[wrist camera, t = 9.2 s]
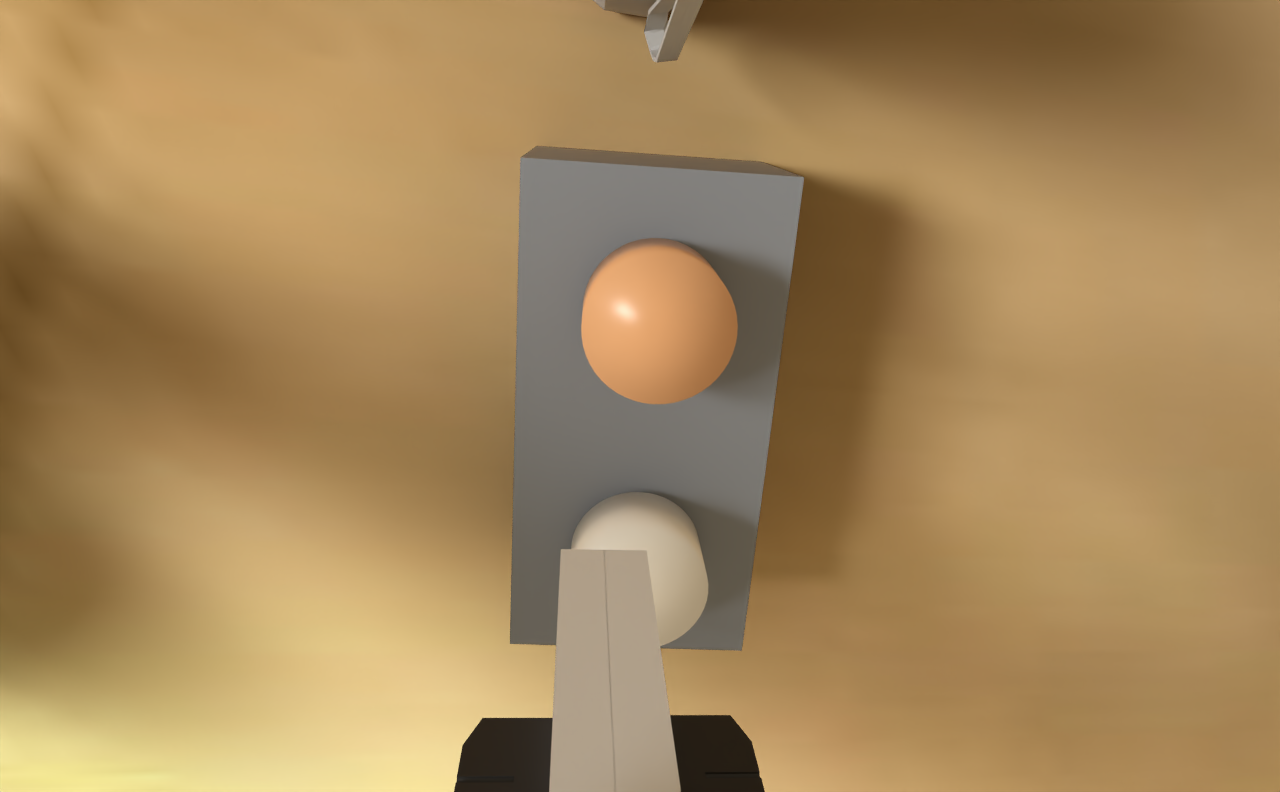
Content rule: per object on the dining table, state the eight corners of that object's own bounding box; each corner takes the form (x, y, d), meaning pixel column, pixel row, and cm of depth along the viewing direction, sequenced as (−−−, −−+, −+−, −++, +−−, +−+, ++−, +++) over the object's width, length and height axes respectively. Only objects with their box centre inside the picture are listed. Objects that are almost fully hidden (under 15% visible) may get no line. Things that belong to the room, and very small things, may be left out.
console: (525, 548, 43) (510, 643, 35) (536, 145, 36) (520, 157, 29) (720, 555, 44) (746, 650, 36) (766, 162, 37) (809, 177, 29)
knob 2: (573, 512, 42) (565, 647, 31) (578, 416, 40) (571, 526, 30) (676, 516, 42) (701, 651, 32) (685, 421, 40) (715, 531, 30)
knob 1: (583, 320, 39) (577, 400, 28) (588, 206, 37) (585, 247, 26) (694, 326, 39) (729, 407, 29) (704, 214, 37) (746, 257, 27)
